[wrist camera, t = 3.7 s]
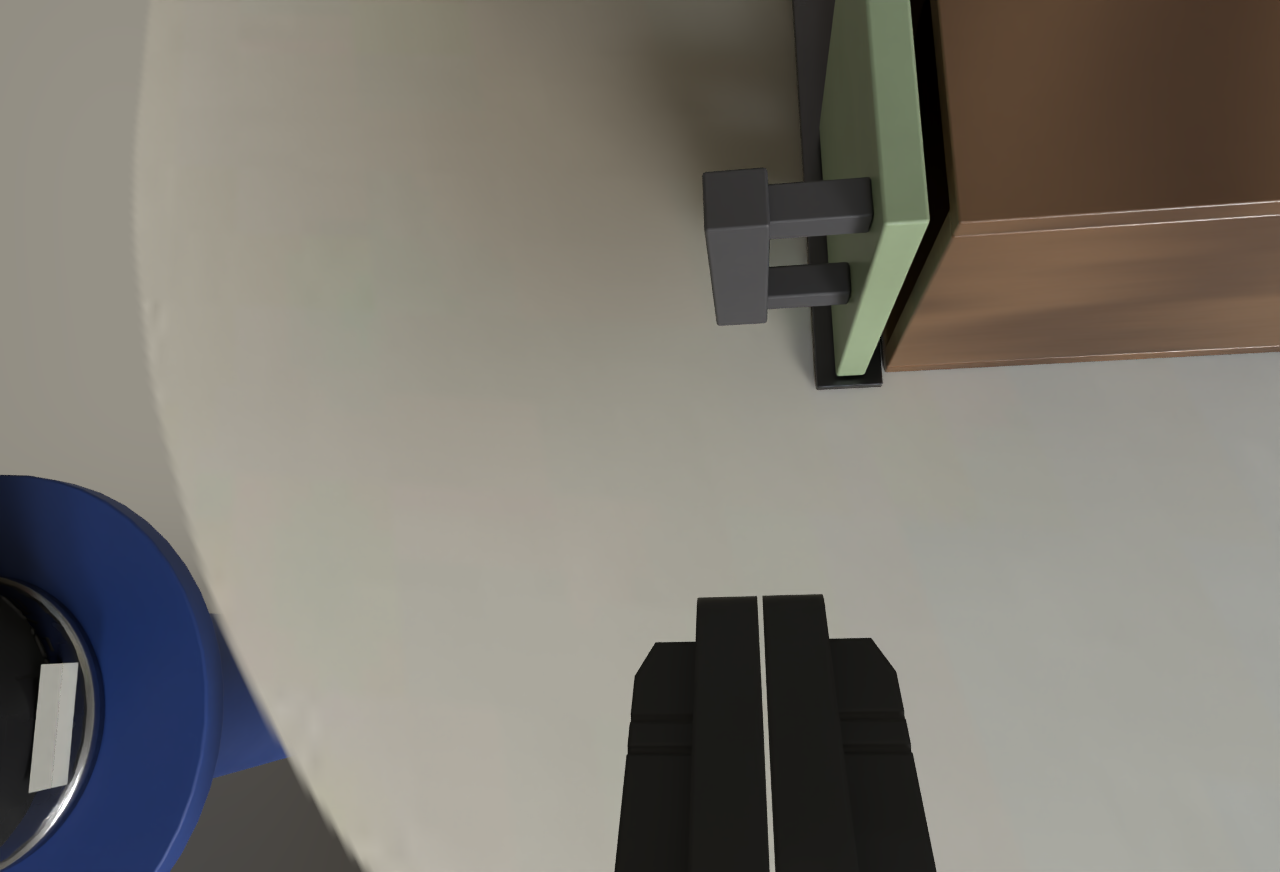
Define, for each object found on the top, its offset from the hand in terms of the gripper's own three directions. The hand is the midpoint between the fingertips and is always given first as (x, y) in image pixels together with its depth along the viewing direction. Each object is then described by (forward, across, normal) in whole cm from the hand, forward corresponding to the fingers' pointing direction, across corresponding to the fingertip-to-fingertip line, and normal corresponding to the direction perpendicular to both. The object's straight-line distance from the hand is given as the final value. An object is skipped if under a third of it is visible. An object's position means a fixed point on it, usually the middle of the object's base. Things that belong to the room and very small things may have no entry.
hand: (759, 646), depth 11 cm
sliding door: (+17, -1, +2) cm, 17 cm away
